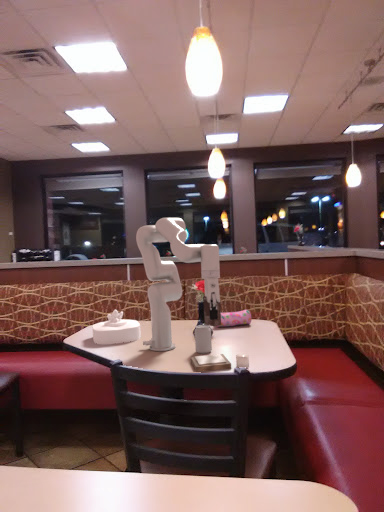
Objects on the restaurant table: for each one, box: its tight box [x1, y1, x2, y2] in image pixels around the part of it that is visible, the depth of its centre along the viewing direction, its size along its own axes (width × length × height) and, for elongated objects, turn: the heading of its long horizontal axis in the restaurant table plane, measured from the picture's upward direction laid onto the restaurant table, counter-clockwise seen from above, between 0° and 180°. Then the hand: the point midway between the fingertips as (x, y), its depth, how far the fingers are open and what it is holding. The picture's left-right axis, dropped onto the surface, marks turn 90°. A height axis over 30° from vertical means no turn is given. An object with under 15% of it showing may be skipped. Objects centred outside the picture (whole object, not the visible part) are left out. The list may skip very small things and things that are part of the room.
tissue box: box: [92, 309, 142, 345], centre depth 219 cm, size 25×25×16 cm
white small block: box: [235, 353, 250, 369], centre depth 159 cm, size 5×5×4 cm
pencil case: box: [216, 309, 252, 328], centre depth 236 cm, size 21×9×9 cm, turn 101°
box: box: [203, 295, 222, 328], centre depth 164 cm, size 6×4×12 cm
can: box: [194, 324, 213, 355], centre depth 183 cm, size 8×8×12 cm
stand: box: [190, 353, 232, 373], centre depth 163 cm, size 14×14×2 cm
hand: (212, 317), depth 164 cm, fingers closed on box, 7 cm apart
